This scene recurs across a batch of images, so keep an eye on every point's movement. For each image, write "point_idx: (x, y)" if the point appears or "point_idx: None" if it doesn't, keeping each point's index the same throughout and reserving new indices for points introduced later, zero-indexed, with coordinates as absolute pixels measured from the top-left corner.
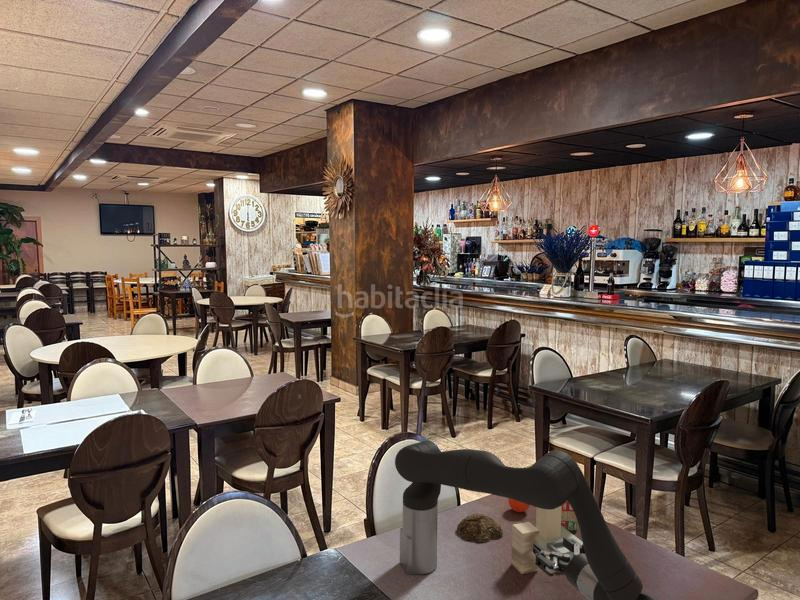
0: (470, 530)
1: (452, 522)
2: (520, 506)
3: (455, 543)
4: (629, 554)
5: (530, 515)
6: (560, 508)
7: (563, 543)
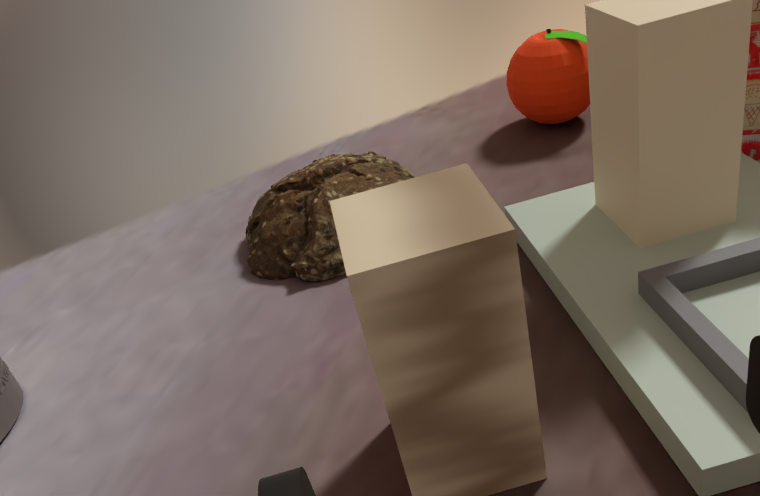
0: (273, 232)
1: None
2: (551, 98)
3: (200, 297)
4: None
5: None
6: (741, 50)
7: (754, 399)
